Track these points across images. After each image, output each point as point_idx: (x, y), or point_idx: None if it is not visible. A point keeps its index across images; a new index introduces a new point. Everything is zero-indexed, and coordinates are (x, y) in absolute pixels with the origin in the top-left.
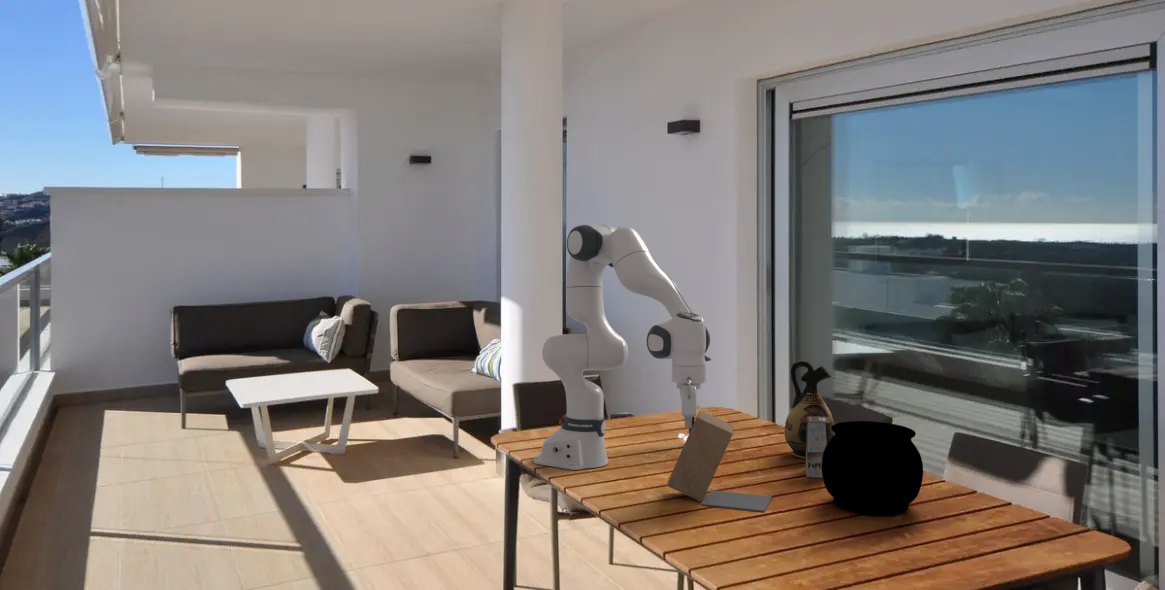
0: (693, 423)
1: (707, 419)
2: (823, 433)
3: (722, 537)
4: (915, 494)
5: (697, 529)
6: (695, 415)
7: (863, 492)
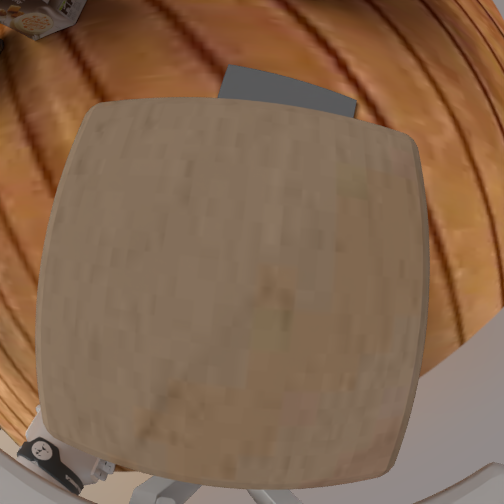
0: None
1: (322, 408)
2: None
3: (482, 223)
4: None
5: (455, 265)
6: (498, 463)
7: None
